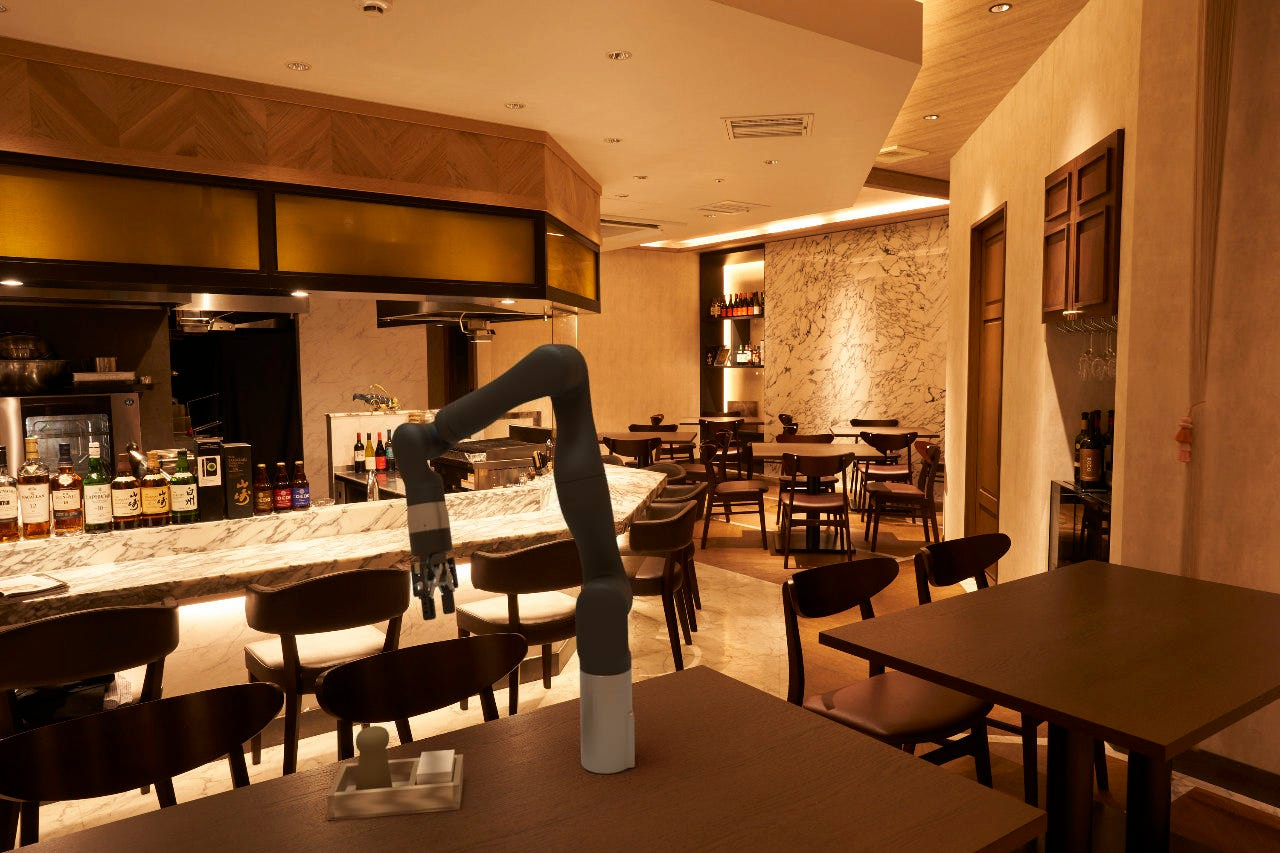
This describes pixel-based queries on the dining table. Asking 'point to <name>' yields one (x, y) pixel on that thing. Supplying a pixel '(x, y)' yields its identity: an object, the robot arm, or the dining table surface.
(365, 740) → the olive pawn
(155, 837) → the dining table surface
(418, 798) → the caddy
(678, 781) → the dining table surface
